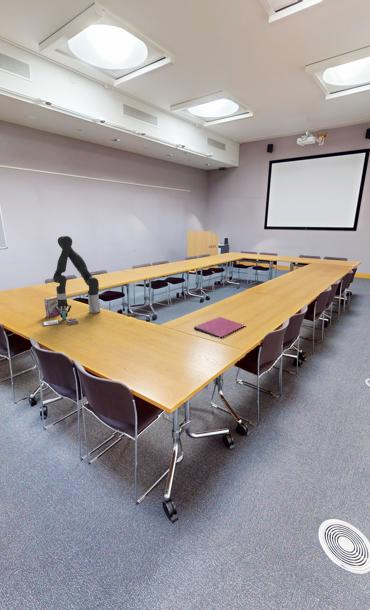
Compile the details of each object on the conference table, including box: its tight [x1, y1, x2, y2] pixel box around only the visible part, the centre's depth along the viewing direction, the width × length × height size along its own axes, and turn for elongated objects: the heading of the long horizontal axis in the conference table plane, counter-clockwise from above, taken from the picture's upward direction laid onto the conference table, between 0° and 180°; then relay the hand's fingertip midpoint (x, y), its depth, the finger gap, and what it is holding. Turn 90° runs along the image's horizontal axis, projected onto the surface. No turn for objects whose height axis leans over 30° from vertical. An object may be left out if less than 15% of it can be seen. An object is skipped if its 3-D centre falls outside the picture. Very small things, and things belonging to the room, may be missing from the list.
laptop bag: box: [193, 316, 244, 339], centre depth 236 cm, size 40×4×27 cm
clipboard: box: [41, 319, 61, 328], centre depth 241 cm, size 13×10×1 cm
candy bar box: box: [44, 296, 60, 318], centre depth 258 cm, size 11×5×16 cm, turn 146°
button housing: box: [66, 317, 79, 326], centre depth 243 cm, size 8×8×2 cm
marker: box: [61, 308, 67, 321], centre depth 249 cm, size 3×3×10 cm
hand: (64, 317), depth 249 cm, fingers closed on marker, 3 cm apart
